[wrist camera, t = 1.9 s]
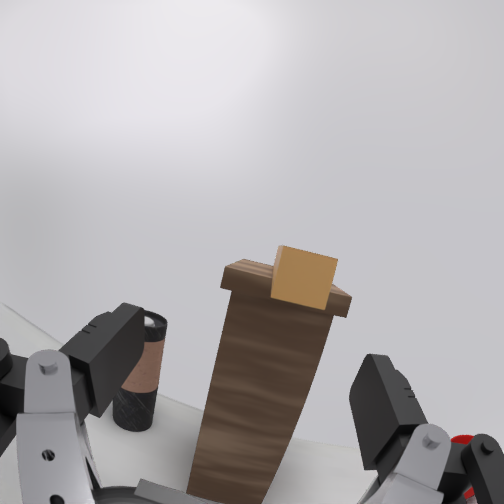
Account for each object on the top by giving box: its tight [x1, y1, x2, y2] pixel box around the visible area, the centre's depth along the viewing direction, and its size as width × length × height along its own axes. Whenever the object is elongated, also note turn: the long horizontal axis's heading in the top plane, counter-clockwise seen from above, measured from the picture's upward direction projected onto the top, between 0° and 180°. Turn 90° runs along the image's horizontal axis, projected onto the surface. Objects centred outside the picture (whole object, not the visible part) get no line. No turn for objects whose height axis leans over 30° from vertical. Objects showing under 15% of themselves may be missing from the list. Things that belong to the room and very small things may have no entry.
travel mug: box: [113, 310, 167, 431], centre depth 42 cm, size 8×8×20 cm
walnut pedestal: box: [186, 259, 352, 504], centre depth 35 cm, size 16×12×32 cm
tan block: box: [271, 246, 338, 310], centre depth 30 cm, size 26×3×3 cm, turn 175°
